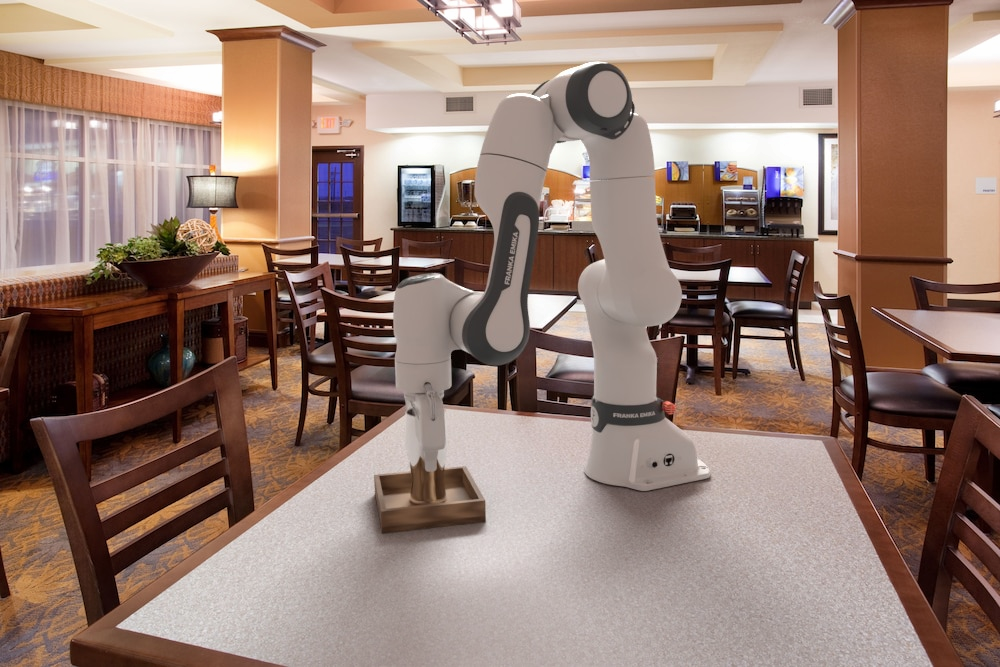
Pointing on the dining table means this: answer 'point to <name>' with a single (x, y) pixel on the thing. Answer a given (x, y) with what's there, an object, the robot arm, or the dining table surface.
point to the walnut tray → (405, 515)
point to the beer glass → (424, 483)
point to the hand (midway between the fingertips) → (426, 460)
